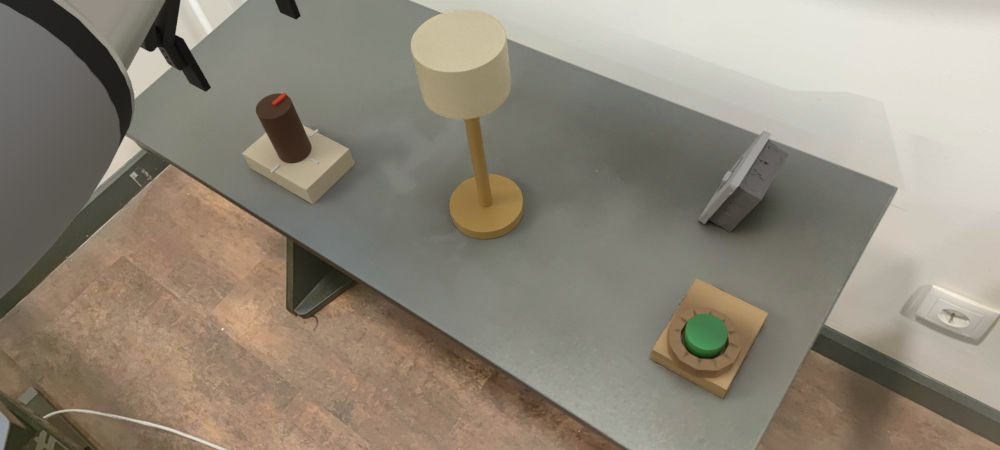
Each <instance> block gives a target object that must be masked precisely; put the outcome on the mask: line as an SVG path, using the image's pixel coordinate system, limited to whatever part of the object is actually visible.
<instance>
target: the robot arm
mask: <svg viewBox="0 0 1000 450" xmlns="http://www.w3.org/2000/svg"><path fill="white" fill-rule="evenodd" d="M274 1H275V4H276V6H277V9H278V11H279V13H280V14H283V15H284V16H286V17H289V18H290V19H291V18H292V19H293V20H296V21H297V20H298V19H299V18H300V17H302V15H301V12H300V9H299V8H298V5H297V2H296V0H274ZM180 6H181V0H0V300H1V299H2V298H3V297H4V296H6V294H7V293H9V292H10V291H11V290H12V289H13V288H14V287H15V286H16V285H17V284H18V283H19V282H20V281H21V280H22V279H23V278H24V277H25V276H26V275H27V274H28V273H29V271H30V270H32V268H33V267H34V266H35V265H36V264H37V263H38V262H39V261H40V260H41V259H42V258H43V257H44V256H45V254H47V252H48V251H49V250H50V249H51V248H52V247H53V246H54V245H55V243H57V241H58V240H59V239H60V237H61V236H62V235H63V233H64V232H65V231H66V230H67V228H69V226H70V225H71V223H72V222H73V221H74V219H75V218H76V217H77V216H78V215H79V213H80V212H81V211H82V210H83V208H85V206H86V204H88V202H89V200H90V198H92V195H93V194H94V192H95V191H96V190H97V187H98V186H99V185H100V183H101V181H102V179H103V178H104V176H105V175H106V173H107V172H108V170H109V169H110V168H111V167H110V166H111V165H112V163H113V161H114V159H115V157H116V154H117V153H118V151H119V148H120V146H121V145H122V143H123V141H124V138H125V137H126V135H127V133H128V131H129V129H130V126H131V123H132V121H133V119H134V114H135V109H136V103H135V92H134V88H133V83H132V80H131V78H130V75H129V73H128V70H129V68H130V67H131V65H132V63H133V61H134V59H135V57H136V55H137V54H138V52H139V50H140V48H141V49H143V50H144V51H147V52H148V53H153V52H154V51H155V50H157V48H158V50H159V52H160V54H161V55H162V57H163V58H164V59H165V61H166V63H167V64H168V65H169V66H170V67H172V68H174V69H176V70H177V71H179V72H182V73H183V75H184V77H185V79H186V80H187V81H188V83H189V84H190V85H192V86H194V87H195V88H197V89H199V90H201V91H203V92H205V93H207V92H208V91H209V90H210V89H212V86H211V84H210V83H209V81H208V79H207V78H206V76H205V74H204V72H203V70H202V69H201V67H200V65H199V63H198V62H197V60H196V58H195V56H194V55H193V53H192V51H191V49H190V47H189V46H188V44H187V43H186V41H185V39H184V38H183V37H181V36H179V35H177V34H176V33H177V26H178V20H179V12H180Z"/></svg>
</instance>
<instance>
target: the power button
mask: <svg viewBox="0 0 1000 450" xmlns="http://www.w3.org/2000/svg"><path fill="white" fill-rule="evenodd" d="M727 338H728V330H727V327H726V325H725V324H724V323H723V321H722V320H720V319H719V318H718V317H716V316H714V315H711V314H698V315H695V316H693V317H692V318H690V319H689V321H688V322H687V324H686V328H685V331H684V343H685V345H686V347H687V348H688V350H689V351H690V352H692V353H693V354H695V355H697V356H699V357H703V358H710V357H714V356H717V355H718V354H720V353H721V352H722V350H723V349H724V346H725V344H726V341H727Z"/></svg>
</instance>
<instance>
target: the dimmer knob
mask: <svg viewBox="0 0 1000 450" xmlns="http://www.w3.org/2000/svg"><path fill="white" fill-rule="evenodd" d="M255 113H256V116H257V119H258V120H259V121H260V124H261V125H262V128H263V129H264V131H265V133H267V135H268V137H269V139H270V141H271V143H272V145H273V147H274V149H275V151H276V153H277V155H278V157H279V158H280V160H282V161H283V162H286V163H296V162H299V161H302V160H303V159H305V158H306V157H307V156H308V155H309V154H310V152H311V148H312V146H311V143H310V141H309V138H308V136H307V134H306V132H305V130H304V127H303V125H304V124H303V122H302V121H301V118H300V116H299V114H298V112H297V109H296V108H295V105H294V103H293V101H292V98H291V97H290V96H289V95H288V94H287V93H286V92H282V93H279V92H278V93H272V94H269V95H266V96H264V97H263V98H261V99H260V101H258V103H257V104H256V107H255Z"/></svg>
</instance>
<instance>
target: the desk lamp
mask: <svg viewBox="0 0 1000 450" xmlns="http://www.w3.org/2000/svg"><path fill="white" fill-rule="evenodd" d="M508 47H509V46H508V37H507V31H506V28H505V26H504V25H503V23H502V22H501V21H500V19H498V18H497V17H495V16H494V15H492V14H489V13H488V12H484V11H481V10H477V9H455V10H449V11H445V12H442V13H439V14H436V15H433V16H432V17H431V18H429V19H427V20H426V21H425V22H423V23H422V24H421V25H420V26H419V27H417V29H416V30H415V32H414V33H413V35H412V37H411V39H410V52H411V56H412V60H413V63H414V68H415V72H416V77H417V80H418V85H419V89H420V93H421V97H422V101H423V103H424V104H425V106H426V107H427V108H428V109H429V110H430V111H432V112H433V113H435V114H436V115H438V116H441V117H443V118H446V119H449V120H451V119H452V120H464V125H465V132H466V137H467V143H468V148H469V152H470V153H469V154H470V159H471V165H472V169H473V176H471V177H468V178H466V179H465V180H464V181H462V182H461V183H460V184H459V185H458V186H457V187H456V188H454V190H453V191H452V194H451V196H450V197H449V204H448V205H449V212H450V217H451V221H452V223H453V224H454V226H455V228H456V229H457V230H458V231H459V232H461V233H462V234H463V235H465V236H467V237H470V238H473V239H477V240H493V239H496V238H500V237H503V236H505V235H507V234H509V233H510V232H512V231H513V230H515V228H516V227H517V226H518V225H519V223H520V221H521V220H522V219H523V215H524V211H525V205H524V203H525V202H524V196H523V195H524V194H523V192H522V190H521V188H520V186H519V185H518V184H517V183H515V181H513V180H512V179H510V178H508V177H507V176H504V175H501V174H496V173H489V170H488V164H487V163H488V162H487V157H486V152H485V145H484V137H483V132H482V126H481V118H480V117H483V116H486V115H488V114H490V113H492V112H494V111H496V110H497V109H498V108H499V107H501V106H502V105H503V104H504V102H506V100H507V99H508V97H509V95H510V93H511V90H512V76H511V67H510V57H509V48H508Z"/></svg>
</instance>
